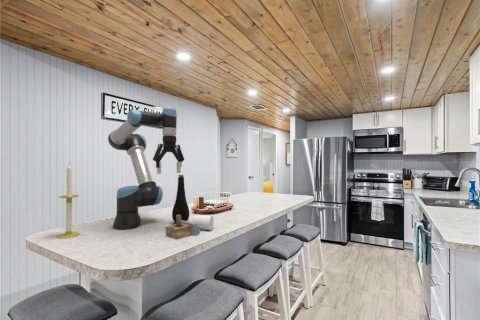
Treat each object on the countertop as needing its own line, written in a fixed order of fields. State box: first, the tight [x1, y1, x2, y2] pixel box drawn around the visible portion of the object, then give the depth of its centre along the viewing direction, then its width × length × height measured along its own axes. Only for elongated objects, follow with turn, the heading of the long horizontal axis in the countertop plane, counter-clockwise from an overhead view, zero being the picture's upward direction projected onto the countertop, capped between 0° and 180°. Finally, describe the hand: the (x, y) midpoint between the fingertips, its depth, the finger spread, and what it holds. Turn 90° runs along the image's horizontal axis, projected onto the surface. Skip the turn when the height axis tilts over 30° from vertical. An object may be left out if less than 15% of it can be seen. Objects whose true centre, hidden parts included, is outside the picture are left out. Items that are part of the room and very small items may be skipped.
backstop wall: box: [181, 220, 201, 237], centre depth 138 cm, size 14×5×6 cm, turn 55°
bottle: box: [171, 174, 190, 224], centre depth 158 cm, size 11×11×30 cm
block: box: [165, 223, 192, 240], centre depth 132 cm, size 9×9×5 cm
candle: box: [57, 162, 81, 239], centre depth 131 cm, size 10×10×38 cm
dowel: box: [176, 215, 181, 227], centre depth 132 cm, size 3×3×10 cm
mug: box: [192, 214, 214, 231], centre depth 147 cm, size 12×10×8 cm
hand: (169, 173), depth 143 cm, fingers open, 13 cm apart
